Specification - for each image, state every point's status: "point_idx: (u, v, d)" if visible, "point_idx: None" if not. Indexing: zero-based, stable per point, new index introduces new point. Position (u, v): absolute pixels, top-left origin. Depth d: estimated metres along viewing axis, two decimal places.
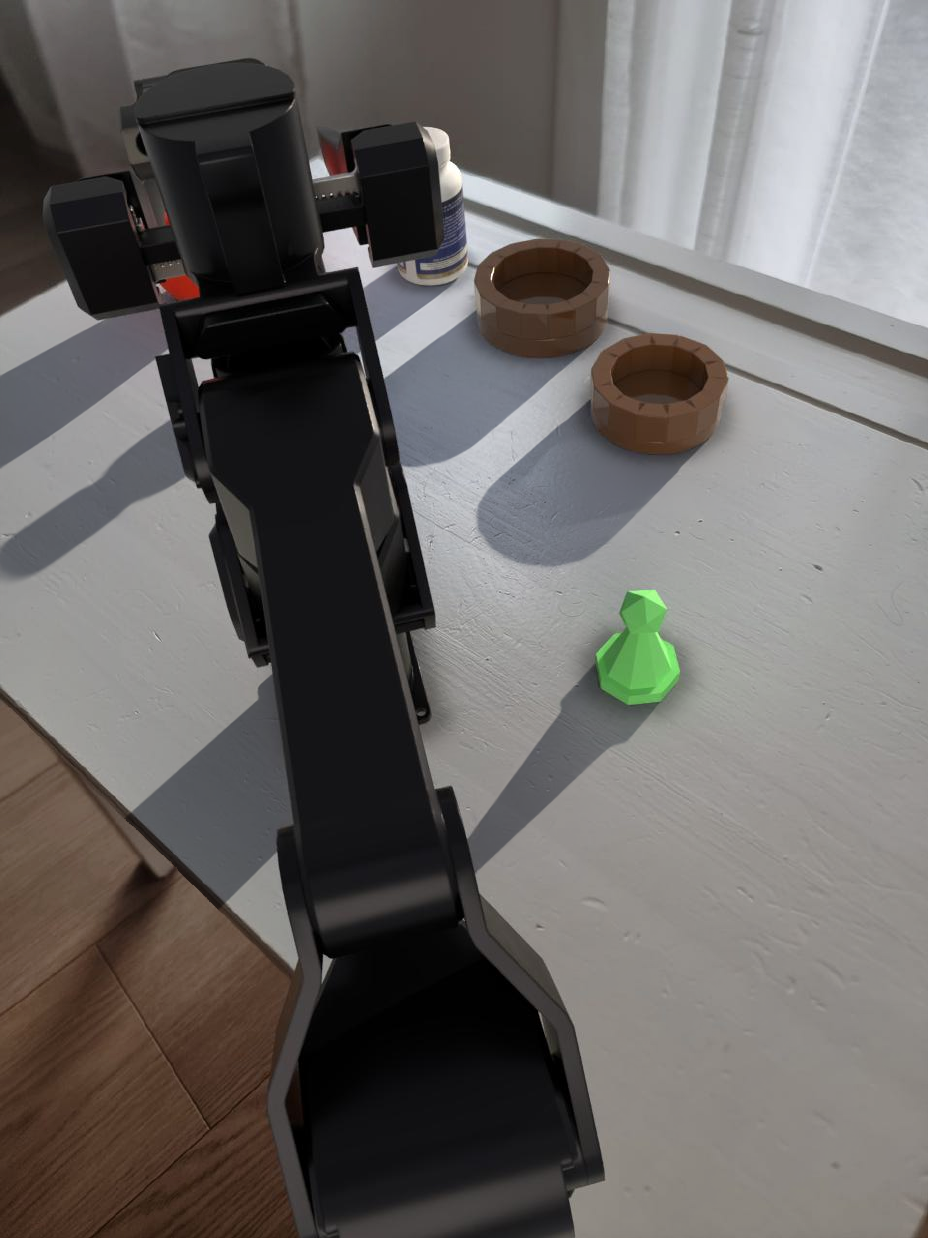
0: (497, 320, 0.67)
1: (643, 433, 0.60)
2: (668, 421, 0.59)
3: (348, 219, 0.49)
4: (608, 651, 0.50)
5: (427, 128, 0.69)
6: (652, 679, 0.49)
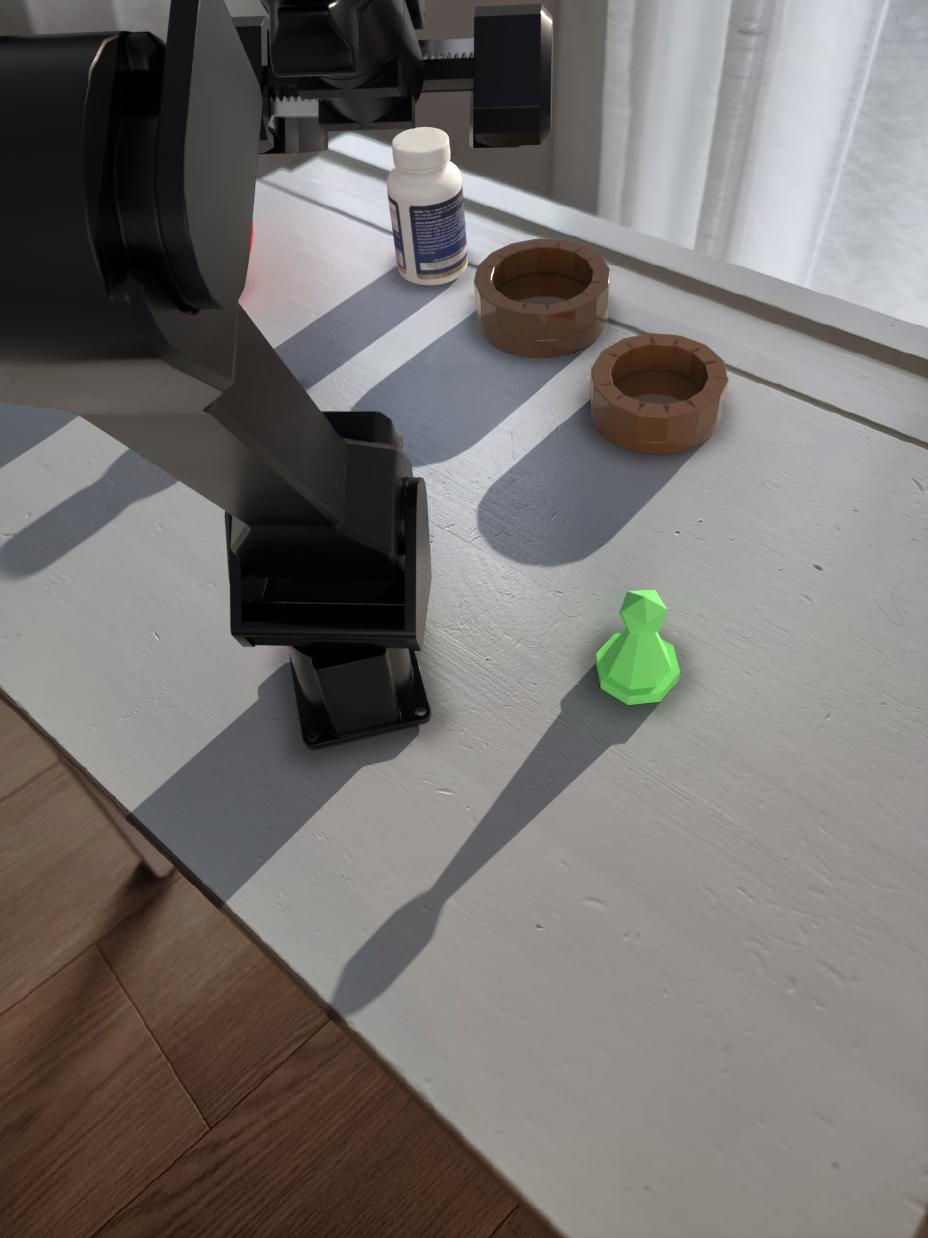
0: (497, 320, 0.67)
1: (643, 433, 0.60)
2: (668, 421, 0.59)
3: (458, 69, 0.51)
4: (608, 651, 0.50)
5: (427, 128, 0.69)
6: (652, 679, 0.49)
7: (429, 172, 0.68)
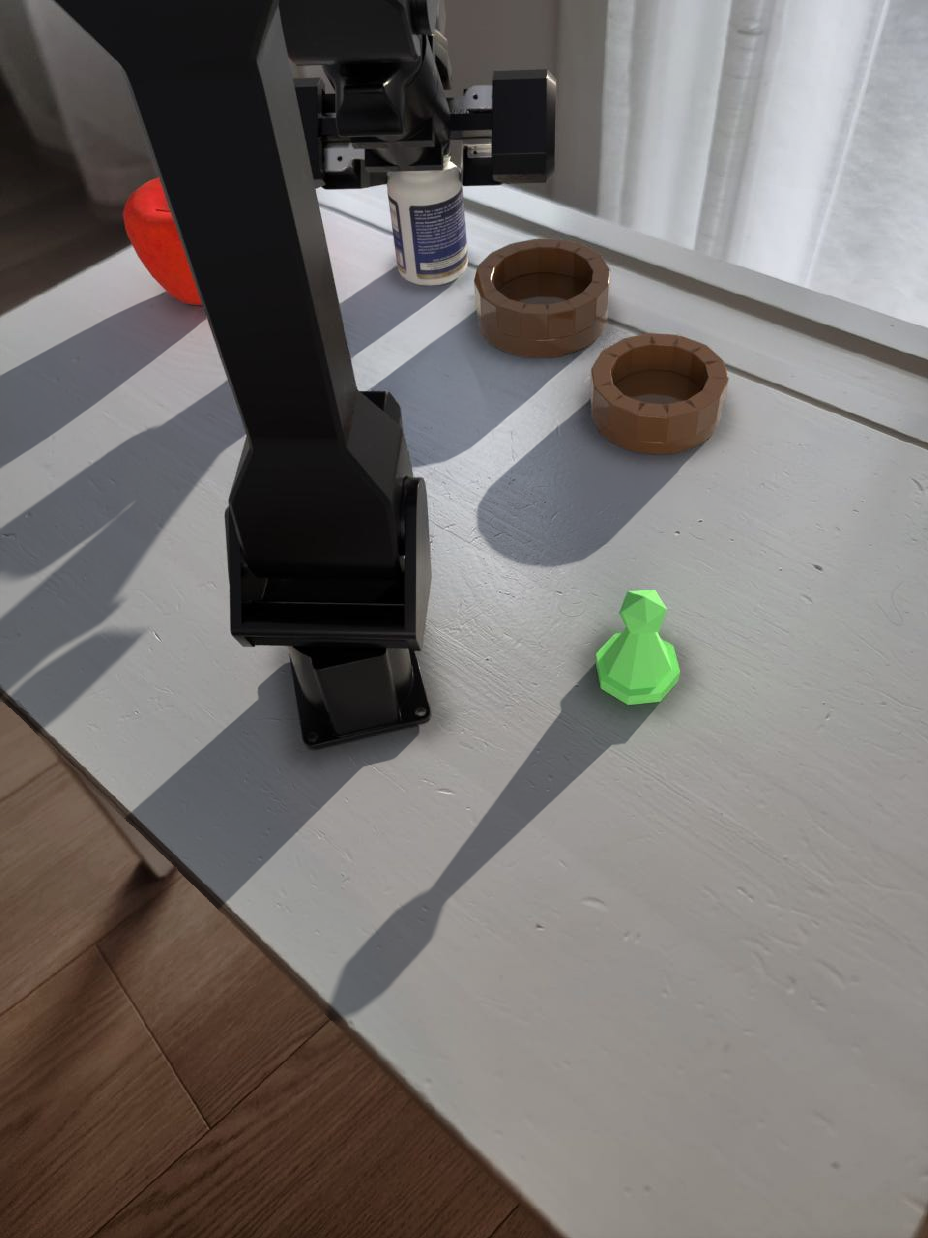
0: (497, 320, 0.67)
1: (643, 433, 0.60)
2: (668, 421, 0.59)
3: (479, 122, 0.62)
4: (608, 651, 0.50)
5: None
6: (652, 679, 0.49)
7: (429, 172, 0.68)
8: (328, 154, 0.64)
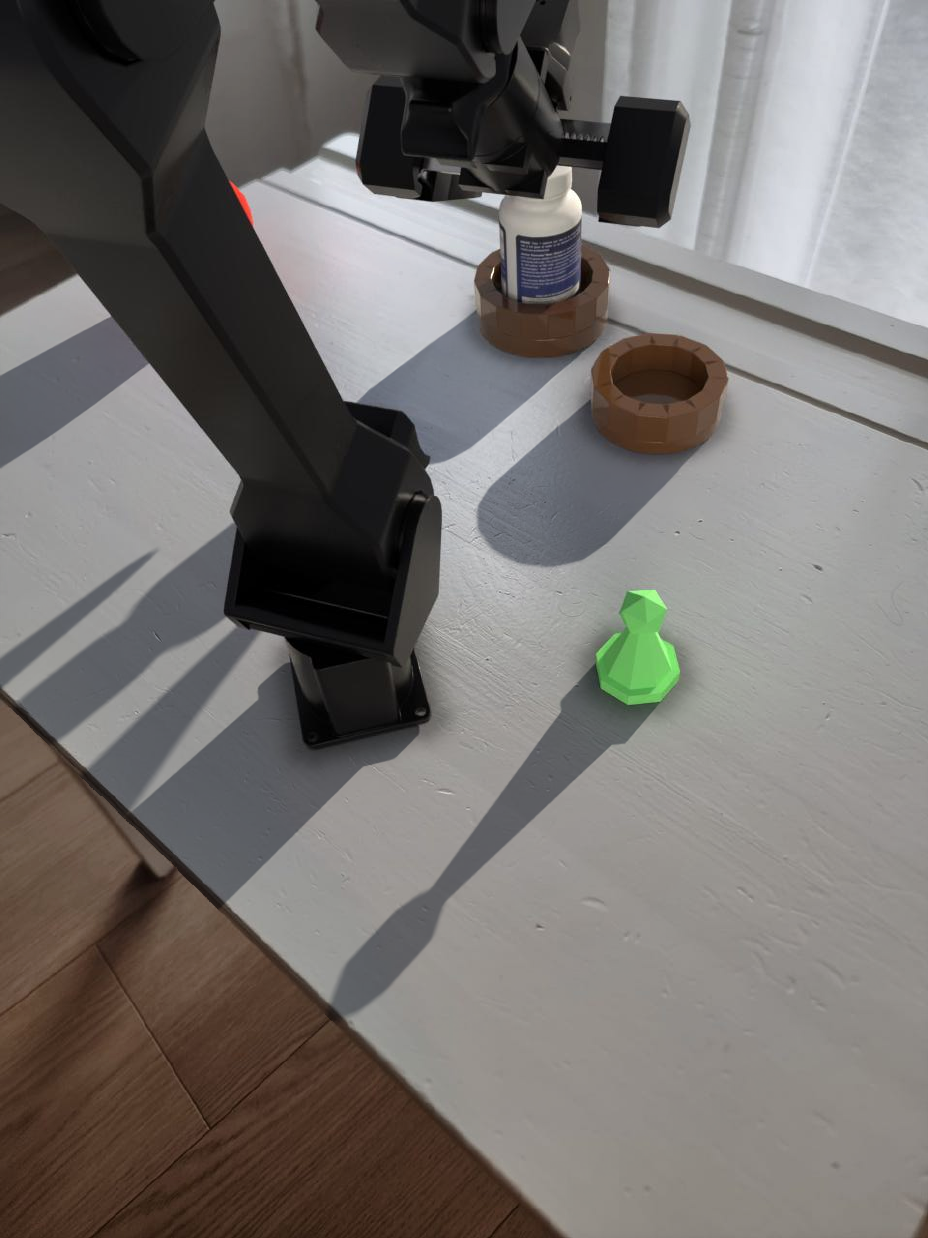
0: (497, 320, 0.67)
1: (643, 433, 0.60)
2: (668, 421, 0.59)
3: (592, 151, 0.55)
4: (608, 651, 0.50)
5: None
6: (652, 679, 0.49)
7: (542, 201, 0.62)
8: None
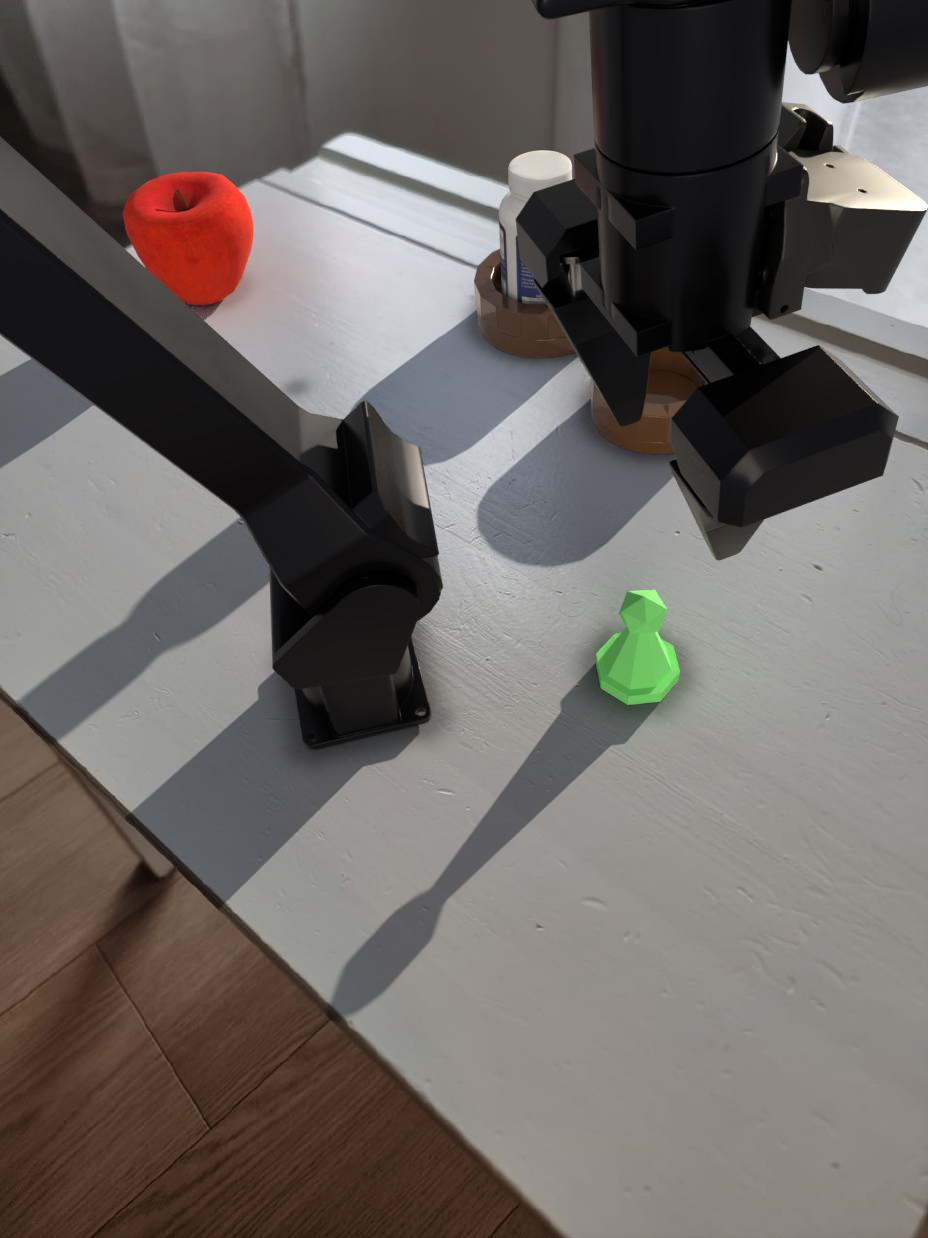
0: (497, 320, 0.67)
1: (643, 433, 0.60)
2: (668, 421, 0.59)
3: (742, 366, 0.33)
4: (608, 651, 0.50)
5: (552, 152, 0.63)
6: (652, 679, 0.49)
7: None
8: None
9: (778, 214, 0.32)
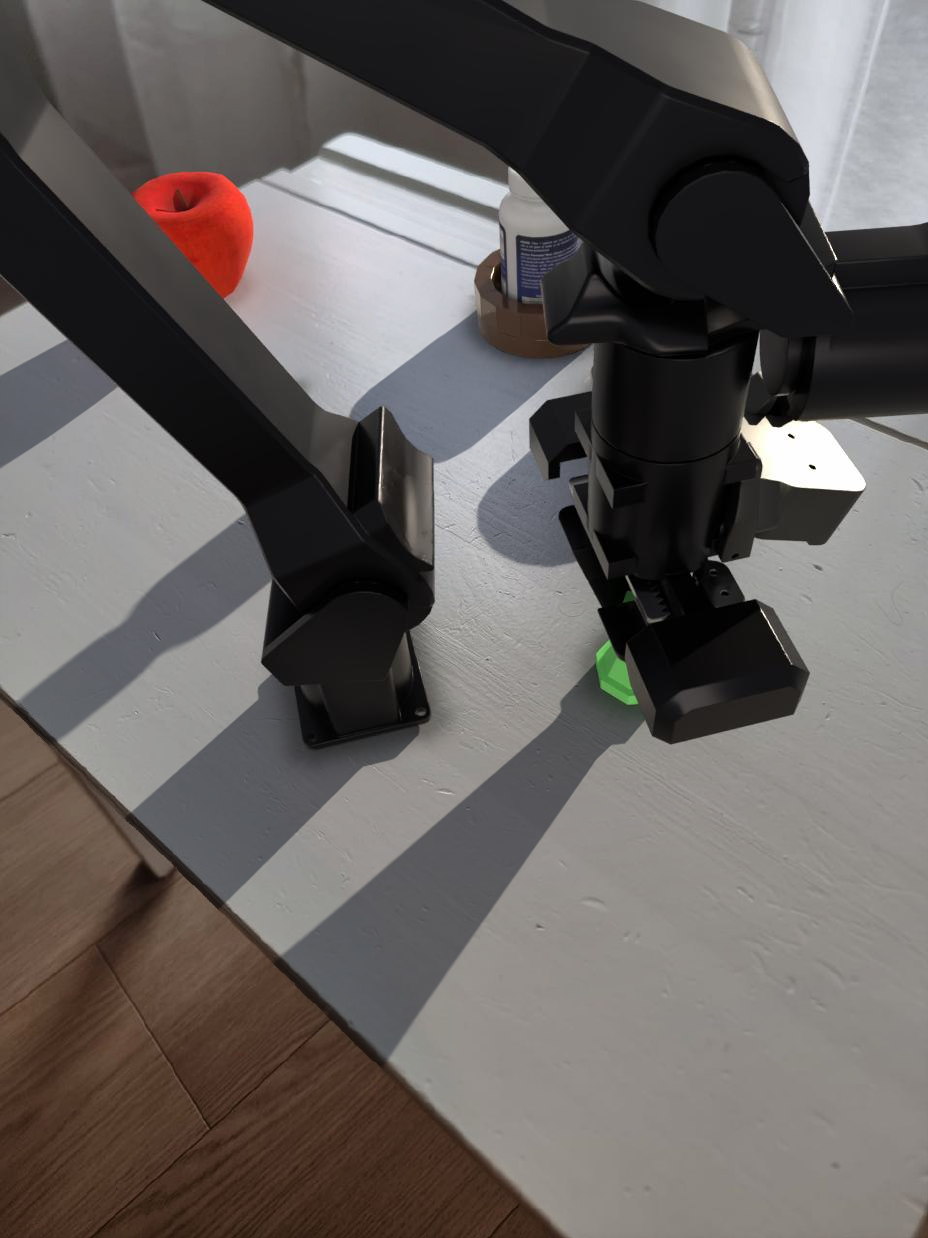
0: (497, 320, 0.67)
1: None
2: None
3: (691, 604, 0.40)
4: (608, 651, 0.50)
5: None
6: None
7: (542, 201, 0.62)
8: None
9: (735, 488, 0.39)
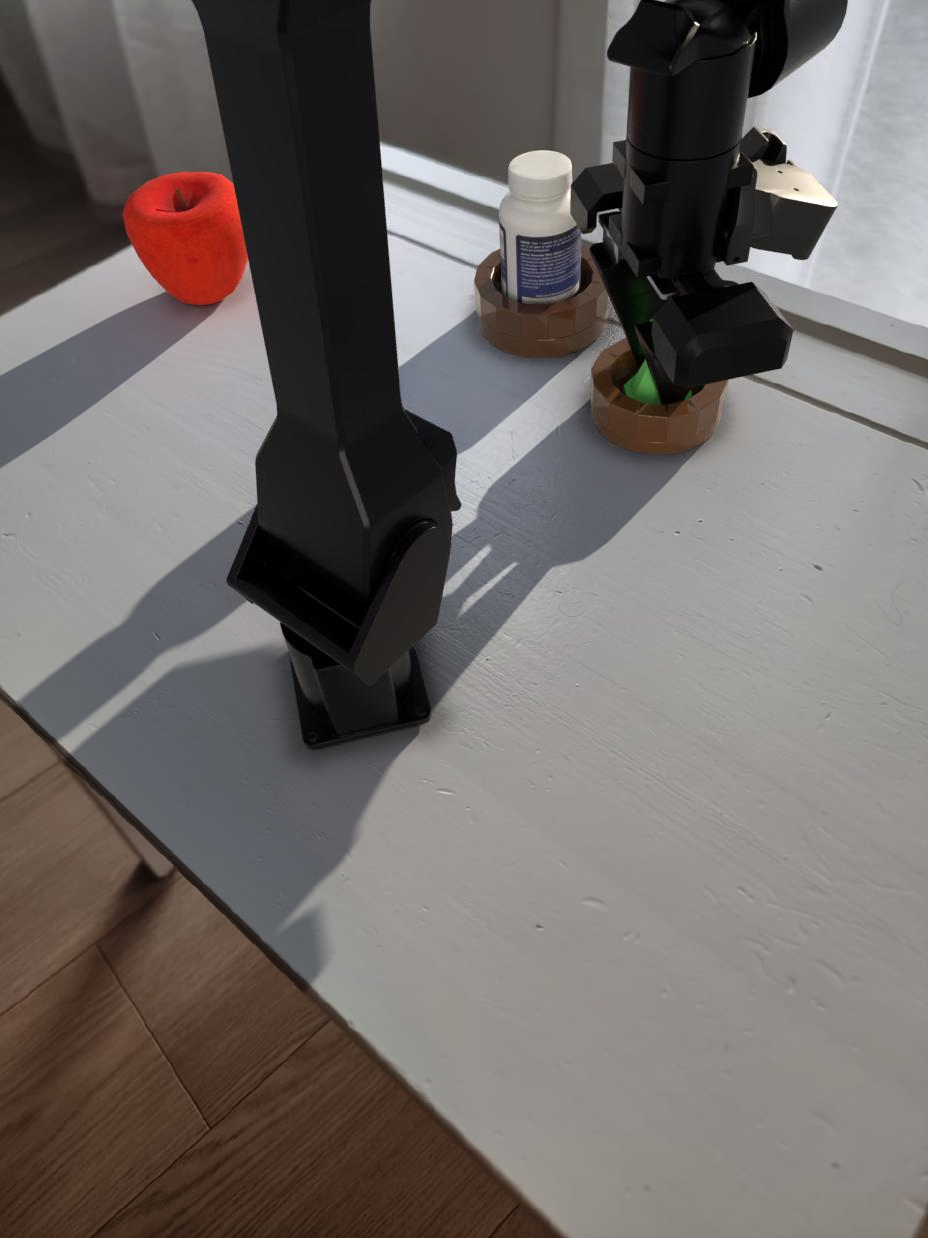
0: (497, 320, 0.67)
1: (643, 433, 0.60)
2: (668, 421, 0.59)
3: (703, 290, 0.52)
4: (634, 380, 0.62)
5: (552, 152, 0.63)
6: None
7: (542, 201, 0.62)
8: None
9: (736, 195, 0.51)
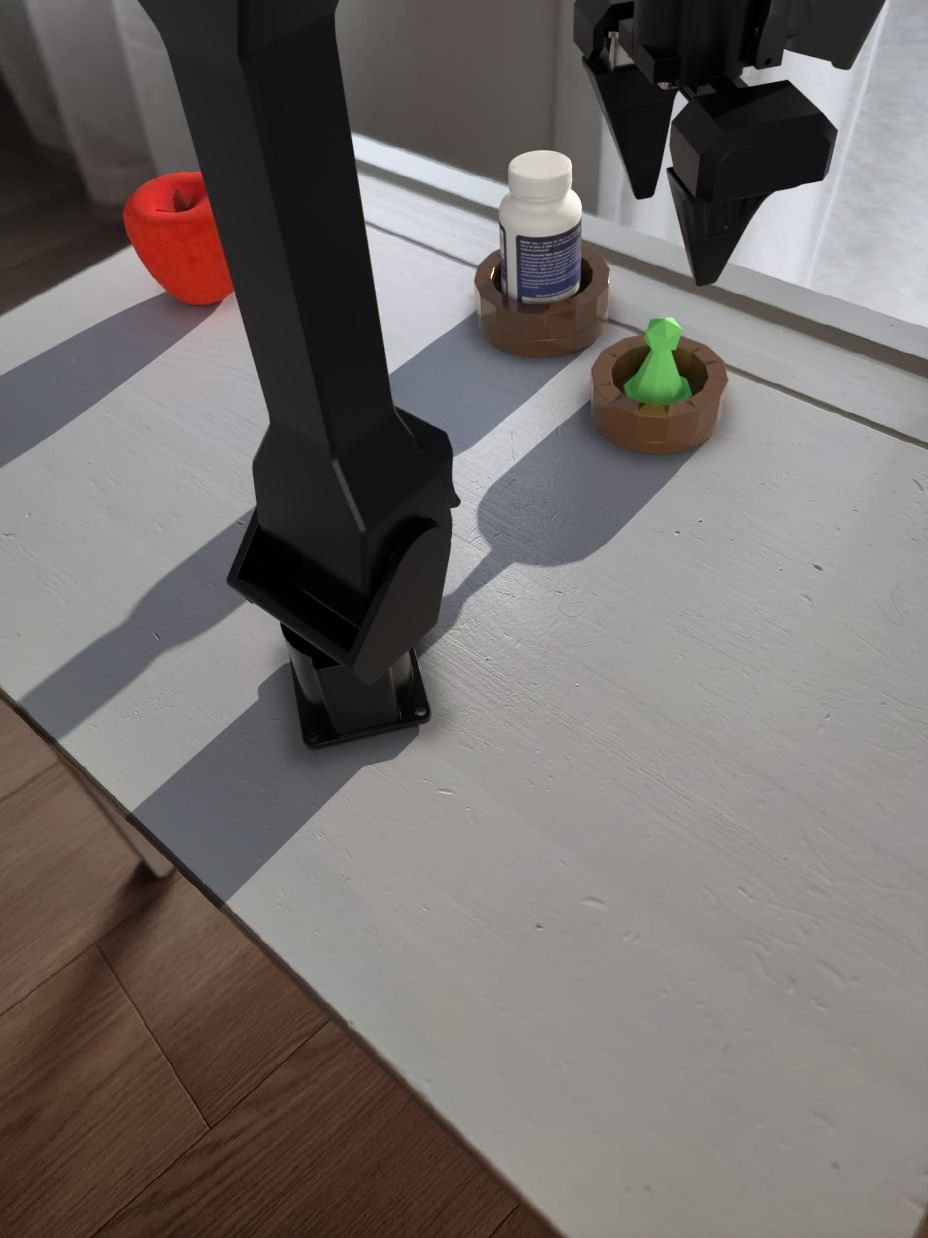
0: (497, 320, 0.67)
1: (643, 433, 0.60)
2: (668, 421, 0.59)
3: None
4: (634, 380, 0.62)
5: (552, 152, 0.63)
6: (670, 398, 0.61)
7: (542, 201, 0.62)
8: None
9: None
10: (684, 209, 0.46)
